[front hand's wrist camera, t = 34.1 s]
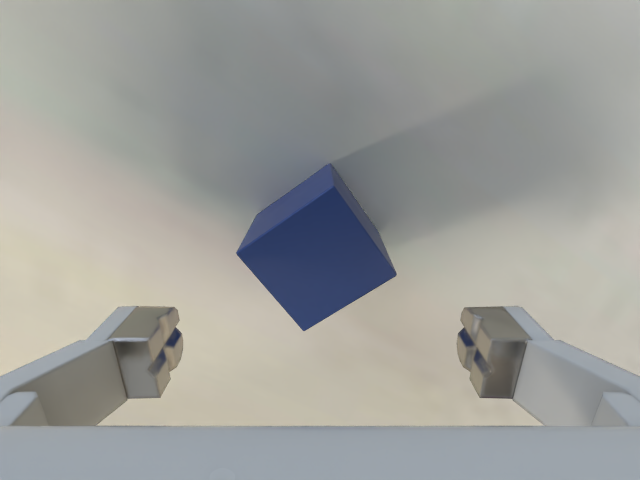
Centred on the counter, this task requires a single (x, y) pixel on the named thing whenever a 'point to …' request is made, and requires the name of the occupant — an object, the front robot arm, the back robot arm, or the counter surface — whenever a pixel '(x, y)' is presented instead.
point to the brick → (316, 249)
